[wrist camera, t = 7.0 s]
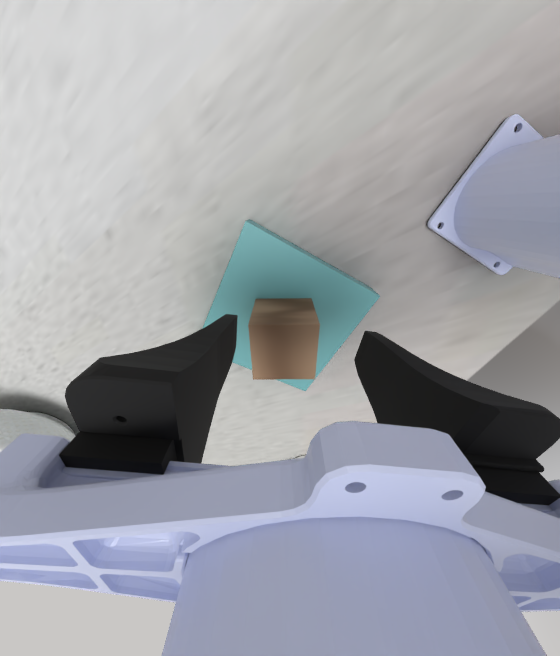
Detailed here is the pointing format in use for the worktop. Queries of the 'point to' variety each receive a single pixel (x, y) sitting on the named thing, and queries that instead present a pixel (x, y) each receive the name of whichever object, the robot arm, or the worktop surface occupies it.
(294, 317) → the walnut cube
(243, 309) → the teal box
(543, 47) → the worktop surface
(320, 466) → the robot arm
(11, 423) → the cereal bowl
